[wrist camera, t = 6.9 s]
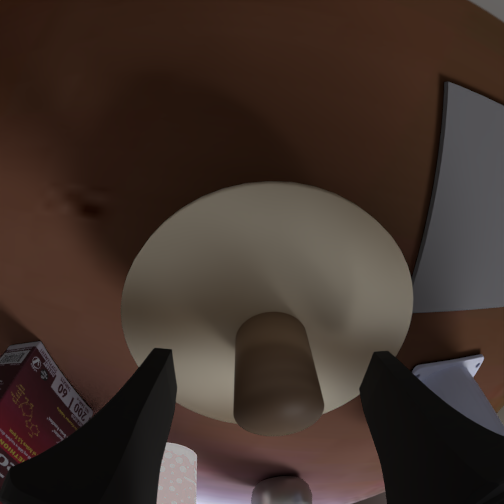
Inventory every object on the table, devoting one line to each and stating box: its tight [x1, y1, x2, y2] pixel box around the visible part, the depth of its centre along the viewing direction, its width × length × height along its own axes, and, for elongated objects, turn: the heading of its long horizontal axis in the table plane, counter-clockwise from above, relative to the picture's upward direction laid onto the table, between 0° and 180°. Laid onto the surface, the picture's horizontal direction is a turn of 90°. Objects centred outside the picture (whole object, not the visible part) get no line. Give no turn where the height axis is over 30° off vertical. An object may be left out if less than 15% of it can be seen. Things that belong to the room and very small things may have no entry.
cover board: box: [121, 181, 413, 436], centre depth 11 cm, size 12×12×4 cm
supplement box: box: [0, 341, 93, 504], centre depth 13 cm, size 9×5×16 cm, turn 15°
